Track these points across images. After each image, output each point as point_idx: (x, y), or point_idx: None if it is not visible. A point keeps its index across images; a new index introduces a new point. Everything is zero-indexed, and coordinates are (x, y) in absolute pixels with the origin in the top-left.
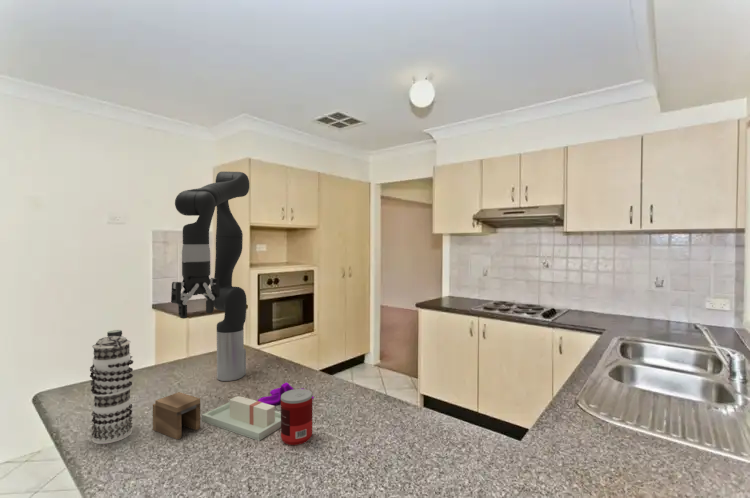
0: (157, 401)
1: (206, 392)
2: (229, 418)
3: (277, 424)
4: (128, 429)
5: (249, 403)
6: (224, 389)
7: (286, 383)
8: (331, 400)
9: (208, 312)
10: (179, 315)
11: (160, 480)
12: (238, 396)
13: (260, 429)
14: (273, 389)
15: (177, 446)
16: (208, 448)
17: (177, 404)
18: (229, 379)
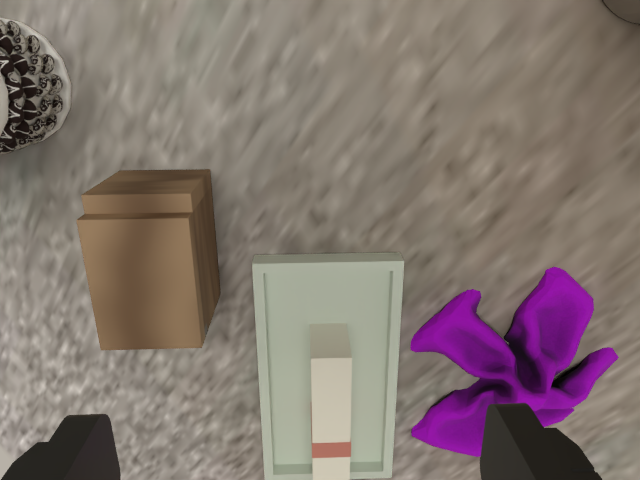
0: (79, 235)
1: (447, 28)
2: (304, 328)
3: None
4: (35, 142)
5: (323, 432)
6: (508, 75)
7: (535, 406)
8: None
9: (486, 440)
10: (31, 459)
11: (22, 420)
12: (348, 362)
13: (302, 444)
14: (562, 284)
15: None
16: (167, 399)
17: (117, 325)
18: (609, 2)
